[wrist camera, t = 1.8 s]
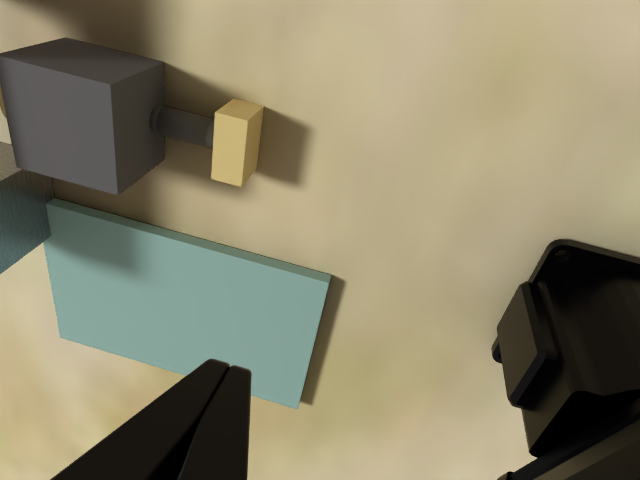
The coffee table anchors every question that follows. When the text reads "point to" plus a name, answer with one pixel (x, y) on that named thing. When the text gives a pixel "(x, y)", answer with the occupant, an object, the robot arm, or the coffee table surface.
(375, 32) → the coffee table surface
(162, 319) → the mat
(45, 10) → the coffee table surface
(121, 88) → the plug
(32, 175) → the housing
